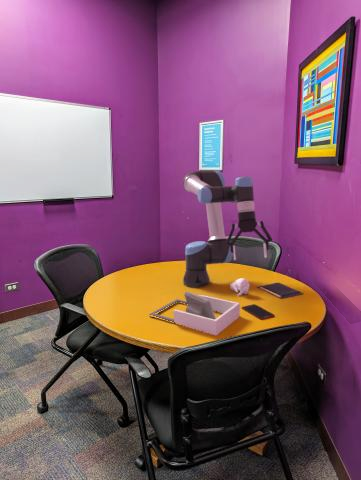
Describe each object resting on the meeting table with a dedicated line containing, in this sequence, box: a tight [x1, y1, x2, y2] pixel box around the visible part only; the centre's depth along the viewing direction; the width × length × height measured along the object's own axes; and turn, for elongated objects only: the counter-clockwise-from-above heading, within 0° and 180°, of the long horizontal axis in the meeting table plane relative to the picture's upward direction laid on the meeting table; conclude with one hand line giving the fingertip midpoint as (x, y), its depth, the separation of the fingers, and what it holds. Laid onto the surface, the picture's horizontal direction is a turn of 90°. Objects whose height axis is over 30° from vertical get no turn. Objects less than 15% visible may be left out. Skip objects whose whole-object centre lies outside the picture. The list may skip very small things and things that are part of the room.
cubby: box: [173, 294, 241, 336], centre depth 146 cm, size 20×21×6 cm
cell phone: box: [241, 303, 276, 321], centre depth 152 cm, size 8×15×1 cm, turn 25°
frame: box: [148, 298, 187, 322], centre depth 156 cm, size 13×21×1 cm, turn 145°
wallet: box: [256, 282, 304, 300], centre depth 178 cm, size 20×2×15 cm
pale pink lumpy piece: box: [230, 277, 251, 297], centre depth 176 cm, size 6×8×12 cm
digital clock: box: [184, 291, 217, 320], centre depth 147 cm, size 16×9×11 cm, turn 25°
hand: (250, 258), depth 153 cm, fingers open, 13 cm apart
